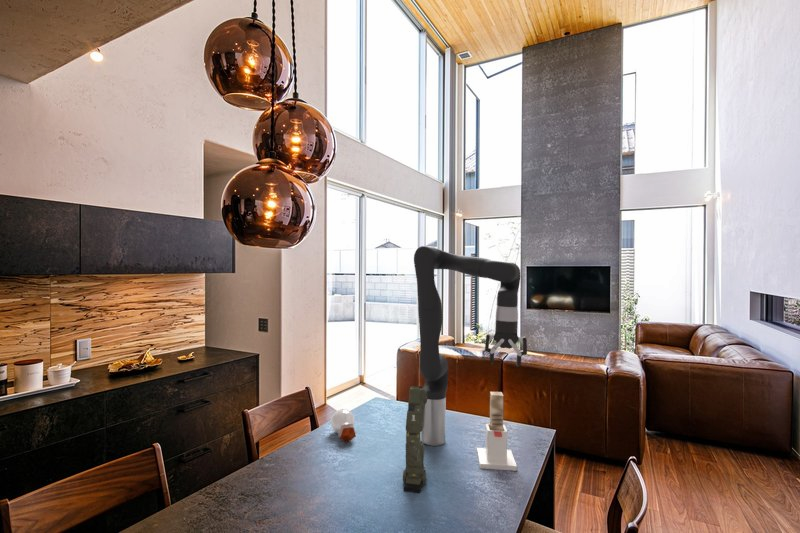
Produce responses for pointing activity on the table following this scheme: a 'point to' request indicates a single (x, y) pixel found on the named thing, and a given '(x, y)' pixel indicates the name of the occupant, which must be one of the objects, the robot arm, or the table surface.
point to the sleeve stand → (496, 451)
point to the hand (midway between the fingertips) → (505, 365)
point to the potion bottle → (344, 424)
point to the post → (496, 411)
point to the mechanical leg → (415, 441)
